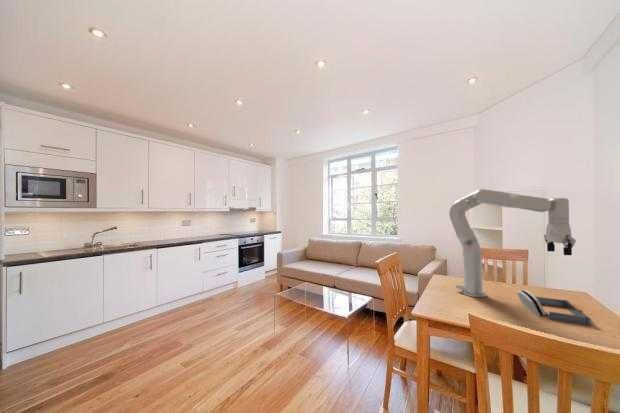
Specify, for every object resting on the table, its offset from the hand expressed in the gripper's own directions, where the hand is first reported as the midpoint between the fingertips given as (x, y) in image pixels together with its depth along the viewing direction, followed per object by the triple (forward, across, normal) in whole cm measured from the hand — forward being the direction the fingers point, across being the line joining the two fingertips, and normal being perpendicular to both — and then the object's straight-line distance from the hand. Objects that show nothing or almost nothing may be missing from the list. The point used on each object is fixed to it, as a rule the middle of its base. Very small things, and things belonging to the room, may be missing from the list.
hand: (558, 253), depth 124 cm
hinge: (+29, +4, -16) cm, 34 cm away
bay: (+29, +8, -6) cm, 31 cm away
